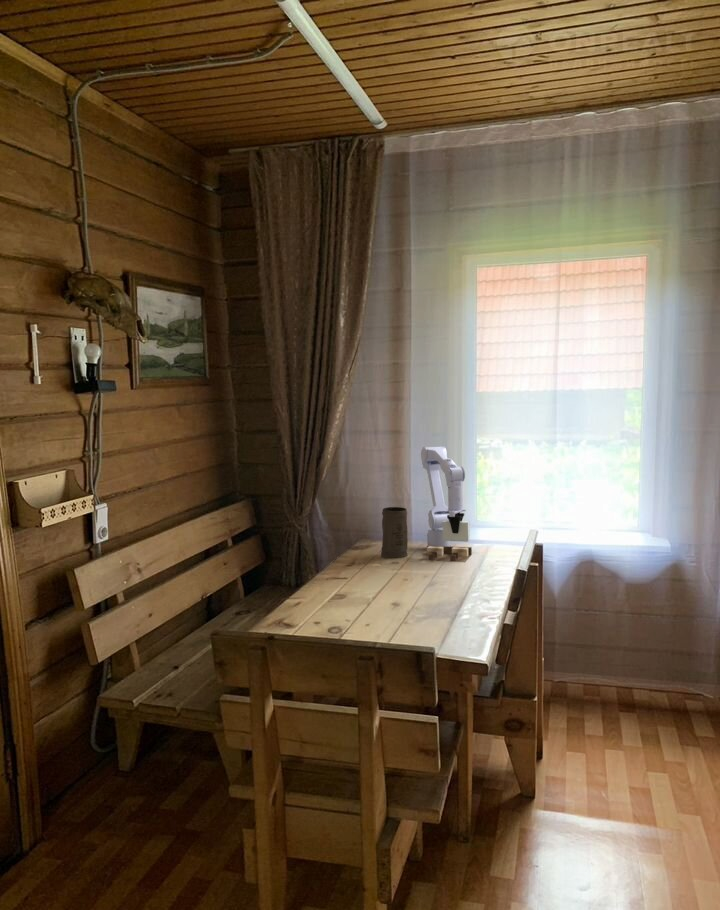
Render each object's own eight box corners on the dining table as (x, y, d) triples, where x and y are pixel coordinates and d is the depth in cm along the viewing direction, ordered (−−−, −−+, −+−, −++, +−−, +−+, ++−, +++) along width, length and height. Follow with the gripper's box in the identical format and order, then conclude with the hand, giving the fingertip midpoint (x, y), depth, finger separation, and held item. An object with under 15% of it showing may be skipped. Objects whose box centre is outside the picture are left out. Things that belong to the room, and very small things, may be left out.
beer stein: (414, 558, 277) (413, 508, 275) (392, 562, 271) (391, 511, 269) (391, 552, 289) (389, 504, 288) (370, 556, 283) (368, 507, 282)
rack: (418, 562, 269) (418, 552, 269) (427, 554, 282) (427, 545, 282) (465, 564, 263) (464, 554, 263) (471, 556, 276) (471, 547, 276)
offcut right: (451, 556, 274) (451, 548, 274) (453, 554, 277) (453, 547, 277) (467, 556, 272) (466, 549, 272) (468, 555, 275) (468, 547, 275)
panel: (443, 540, 273) (442, 521, 273) (444, 539, 276) (444, 520, 275) (468, 541, 270) (467, 522, 269) (469, 540, 272) (469, 521, 272)
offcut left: (427, 555, 277) (427, 547, 277) (429, 553, 280) (428, 546, 280) (442, 555, 275) (441, 548, 275) (443, 554, 278) (443, 546, 278)
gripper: (461, 500, 263) (462, 536, 264) (469, 495, 277) (469, 529, 278) (443, 500, 266) (444, 535, 267) (451, 495, 279) (452, 529, 280)
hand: (456, 532), depth 272 cm, fingers closed on panel, 3 cm apart
